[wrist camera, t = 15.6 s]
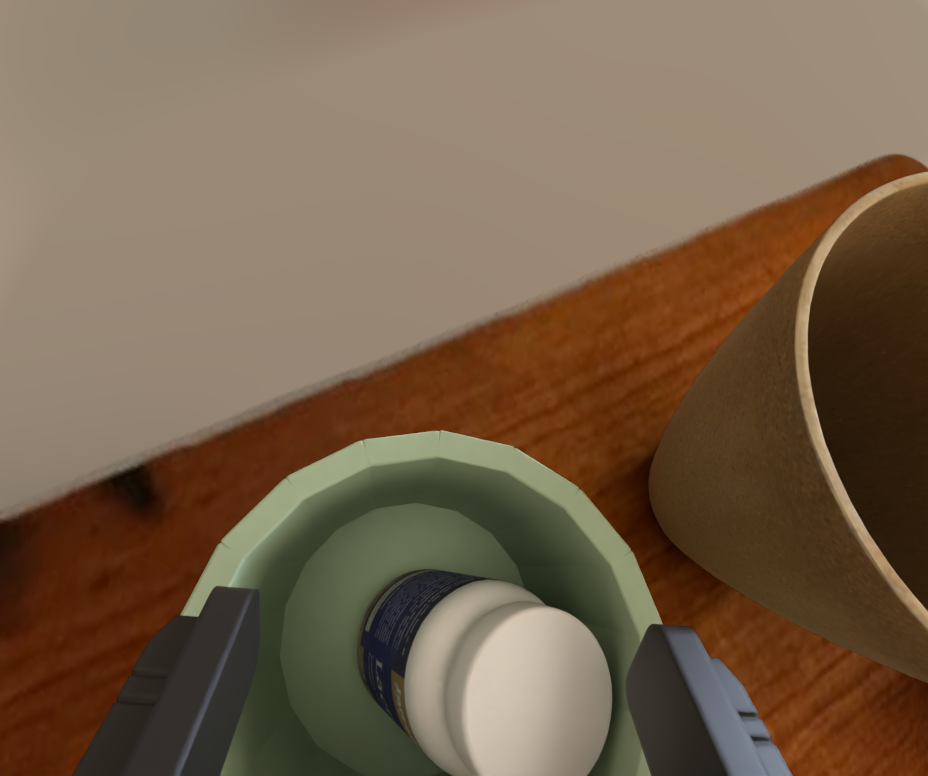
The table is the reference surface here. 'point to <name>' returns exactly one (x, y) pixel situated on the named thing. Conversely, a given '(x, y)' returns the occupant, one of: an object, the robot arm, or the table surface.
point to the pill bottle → (485, 675)
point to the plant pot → (819, 439)
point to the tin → (392, 554)
